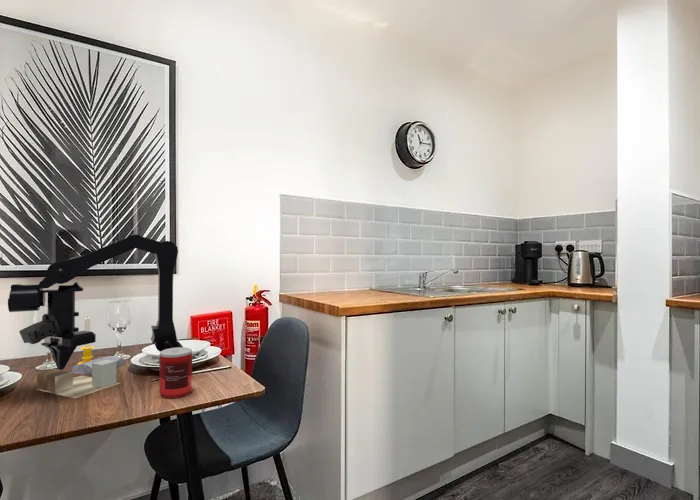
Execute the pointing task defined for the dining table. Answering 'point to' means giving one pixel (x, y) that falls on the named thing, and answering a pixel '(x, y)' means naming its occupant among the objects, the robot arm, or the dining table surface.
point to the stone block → (87, 367)
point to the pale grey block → (104, 373)
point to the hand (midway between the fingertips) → (61, 369)
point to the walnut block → (55, 380)
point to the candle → (87, 347)
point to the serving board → (80, 387)
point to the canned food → (175, 372)
